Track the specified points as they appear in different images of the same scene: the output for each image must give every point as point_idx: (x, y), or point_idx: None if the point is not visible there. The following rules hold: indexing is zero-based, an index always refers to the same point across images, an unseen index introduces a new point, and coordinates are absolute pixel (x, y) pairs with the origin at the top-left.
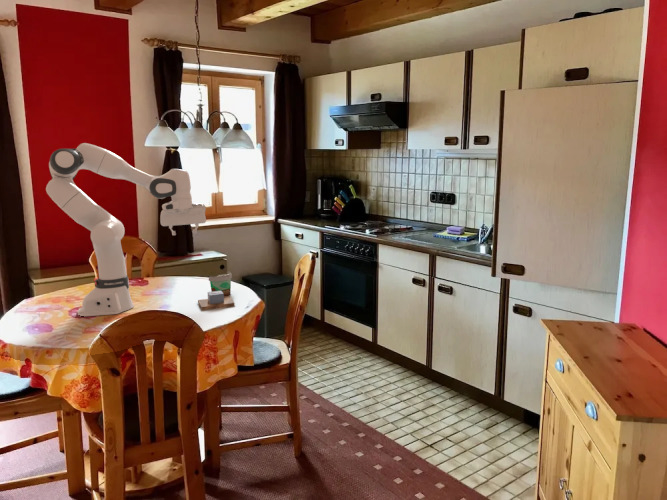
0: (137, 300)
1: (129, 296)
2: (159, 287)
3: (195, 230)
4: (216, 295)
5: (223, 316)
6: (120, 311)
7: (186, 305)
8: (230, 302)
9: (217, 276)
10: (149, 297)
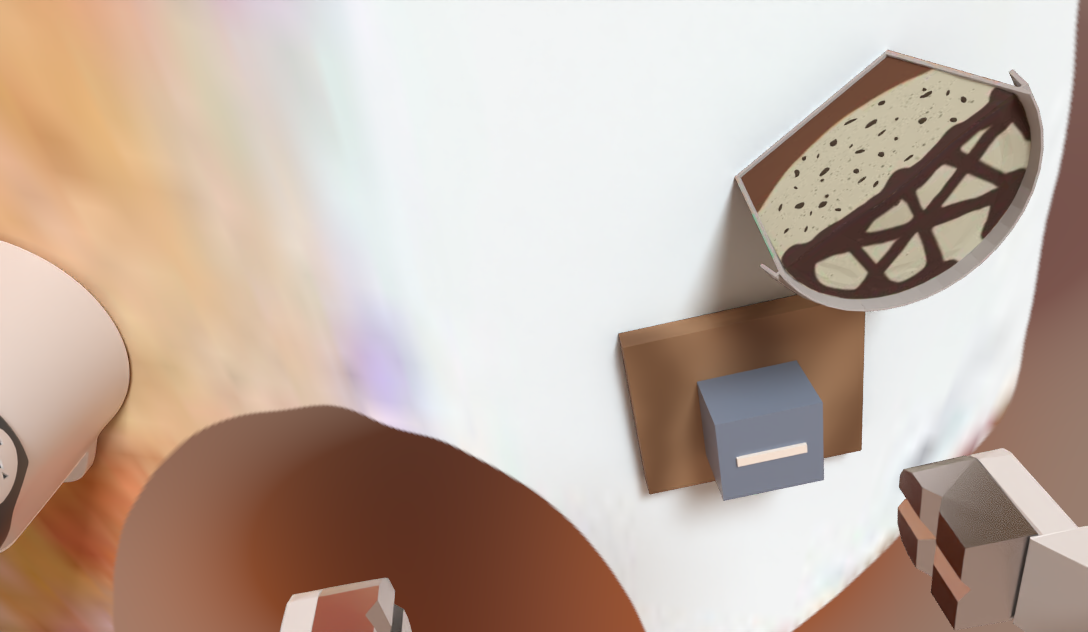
0: (48, 141)
1: (66, 407)
2: None
3: (1009, 602)
4: (769, 485)
5: (757, 577)
6: (92, 456)
7: (536, 365)
8: (838, 440)
9: (869, 229)
10: (125, 54)
